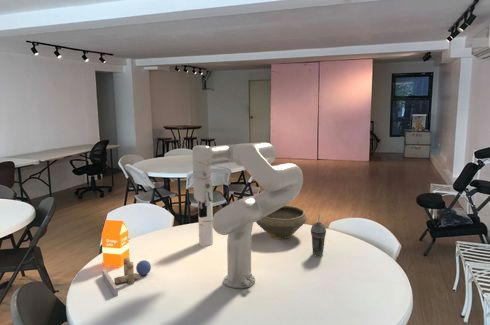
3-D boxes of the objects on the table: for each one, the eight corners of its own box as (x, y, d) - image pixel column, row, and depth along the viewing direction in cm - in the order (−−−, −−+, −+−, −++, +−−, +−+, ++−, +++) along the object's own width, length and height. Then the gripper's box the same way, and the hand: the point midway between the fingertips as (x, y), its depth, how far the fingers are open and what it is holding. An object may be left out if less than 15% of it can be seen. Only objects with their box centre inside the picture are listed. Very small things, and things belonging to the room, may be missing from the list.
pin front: (136, 273, 159) (115, 278, 154) (137, 279, 159) (116, 285, 154) (135, 272, 161) (114, 277, 156) (135, 278, 161) (114, 283, 156)
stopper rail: (117, 295, 146) (117, 288, 146) (114, 296, 146) (114, 288, 145) (105, 275, 163) (105, 268, 163) (102, 276, 162) (102, 269, 162)
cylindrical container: (212, 246, 196) (211, 197, 192) (198, 245, 196) (197, 197, 193) (213, 241, 203) (212, 194, 199) (200, 241, 203) (199, 194, 200)
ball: (134, 271, 159) (148, 276, 160) (139, 257, 162) (153, 262, 163) (133, 273, 165) (147, 277, 166) (138, 259, 167) (152, 263, 168)
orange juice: (121, 267, 172) (118, 223, 168) (103, 265, 173) (100, 222, 170) (130, 260, 179) (127, 218, 176) (112, 258, 181) (110, 217, 178)
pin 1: (131, 278, 160) (130, 259, 159) (125, 280, 159) (124, 260, 158) (129, 276, 162) (128, 257, 161) (123, 277, 161) (122, 258, 160)
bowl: (313, 233, 215) (314, 208, 213) (292, 249, 192) (293, 222, 190) (269, 224, 230) (269, 201, 228) (244, 237, 207) (244, 212, 205)
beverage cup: (324, 251, 188) (325, 211, 185) (326, 257, 181) (327, 216, 178) (309, 251, 189) (310, 211, 186) (310, 257, 181) (311, 215, 178)
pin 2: (135, 283, 156) (134, 263, 155) (128, 285, 155) (127, 264, 153) (133, 281, 158) (132, 261, 157) (127, 282, 157) (126, 262, 155)
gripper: (218, 176, 160) (218, 219, 163) (202, 171, 173) (203, 211, 175) (201, 178, 156) (202, 222, 159) (186, 172, 169) (187, 213, 171)
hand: (202, 216), depth 167 cm, fingers closed
